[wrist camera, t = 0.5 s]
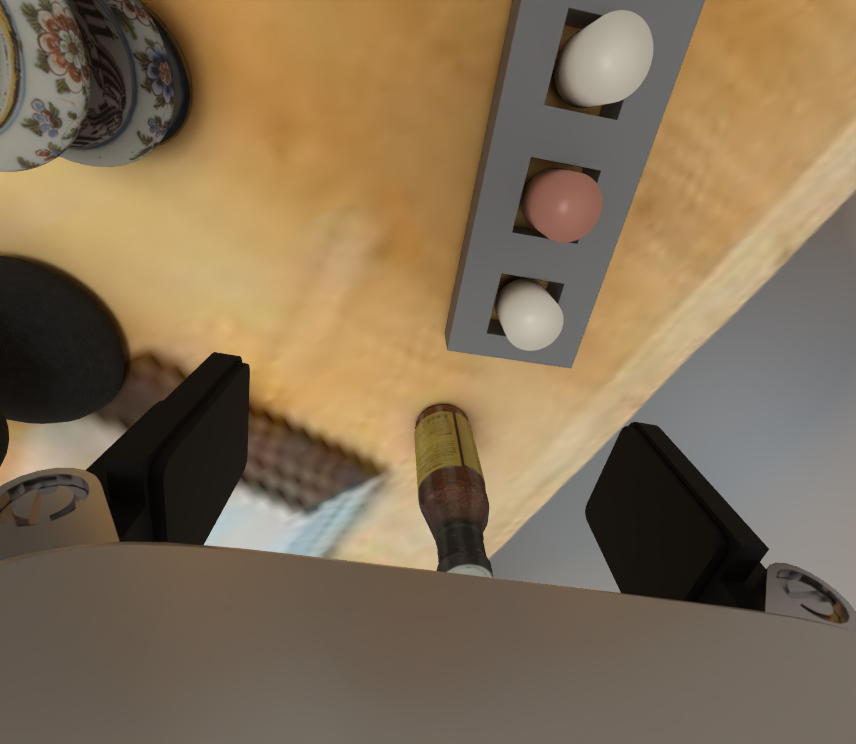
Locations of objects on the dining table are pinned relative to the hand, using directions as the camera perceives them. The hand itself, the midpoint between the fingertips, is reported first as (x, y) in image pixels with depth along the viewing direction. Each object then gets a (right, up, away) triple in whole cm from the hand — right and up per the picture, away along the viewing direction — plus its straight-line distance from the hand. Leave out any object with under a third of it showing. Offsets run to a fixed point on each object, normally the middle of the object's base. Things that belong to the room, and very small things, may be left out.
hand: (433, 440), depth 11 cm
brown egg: (+10, +16, +25) cm, 31 cm away
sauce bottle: (+2, -4, +39) cm, 39 cm away
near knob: (+11, +24, +21) cm, 33 cm away
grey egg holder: (+10, +17, +27) cm, 34 cm away
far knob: (+8, +8, +29) cm, 31 cm away
